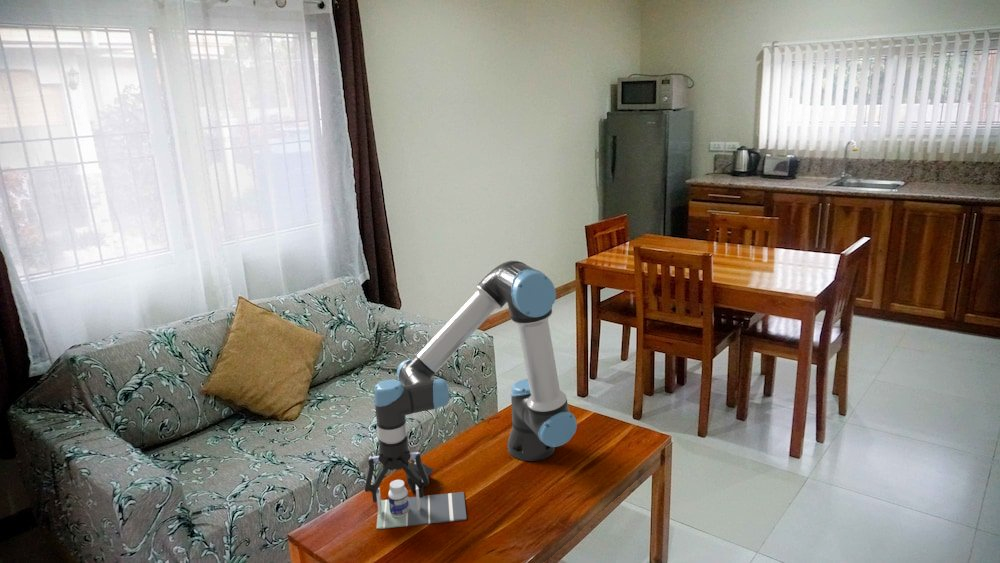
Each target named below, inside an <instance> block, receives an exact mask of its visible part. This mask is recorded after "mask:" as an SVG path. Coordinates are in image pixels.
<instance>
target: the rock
mask: <svg viewBox="0 0 1000 563" xmlns="http://www.w3.org/2000/svg"><path fill="white" fill-rule="evenodd" d="M409 464H410V466H411V467H412V468H413V469H414V471H415V472H416V473H417V474H418V476H419V477H420V478H421V479H422V477H421V474H420V472H419V470H418V467H417V465H416V461H414V460H412V461H411V463H410V462H409ZM423 465H424V468H425V470H426V472H427V475H428V477H429V478H430V476H431V475H432V473H433V471H434V468H433V467H429V466H428V465H426V464H424V463H423ZM405 476H406V482H407V485H408V487H409V488H410V491H412V492H413V493H415V494H416V484H415V483H414V481H413V480H412V479H411V478H410V476H409V475H408V474H407V473H406V472H405ZM422 480H423V479H422Z"/></svg>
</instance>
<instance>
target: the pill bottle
mask: <svg viewBox="0 0 1000 563" xmlns="http://www.w3.org/2000/svg"><path fill="white" fill-rule="evenodd" d="M405 485H406V484H405V481H404V480H402V479H395V480H391V481H390V483H389V490H388V499H389V507H390V513H391V515H392V516H394V517H402V516H404V515H406V514H407V513H408V512H409V503H408V497H409V495H408V489H407V488H406V486H405Z"/></svg>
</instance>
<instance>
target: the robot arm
mask: <svg viewBox="0 0 1000 563" xmlns="http://www.w3.org/2000/svg"><path fill="white" fill-rule="evenodd" d="M556 293H557V292H556V288H555V285H554V283H553V281H552V280H551V279H550V278H549V277H548V276H547V275H546V274H545V273H544V272H542V271H540V270H538V269H535V268H533V267H531V266H530V265H528V264H526V263H524V262H523V261H522V262H521V261H519V260H509V261H505V262H503V263H500V264H499V265H497V266H496V267H495V268H493V269H492V270H491V271H490V272H489V273H487V274H486V275H485V276H484V277H483V278H482V279H481V280H480V282H478V284H477V285H476V290H475V292H474V293H473V294H472V295H471V296H470V298H469V299H468V300H467V301H465V303H464V304H463V305H462V306H461V307H460V308H459V309H458V310H457V311H456V313H454V315H453V316H451V317H450V318H449V320H448V321H447V322H446V323H445V324H444V325H443V327H441V328H440V329H439V330H438V331H437V333H436V334H435V335H434V336H433V337H432V338H431V339H430V340H429V341H428V342H427V343H426V344H425V346H424V347H423V348H422V349H421V350H420V351H419V352H418V353H417V354H416V355H415V356H414V357H413V358H409V359H408V358H407V359H406V360H403V361H401V363H399V365H398V367H397V370H396V376H397V378H398V380H397V379H395V378H393V379H384V380H381V381H379V382H377V384H375V386H374V388H373V389H374V390H373V391H374V392H373V395H374V396H373V397H374V401H373V403H374V408H375V416H376V428H377V437H378V446H379V447H378V448H379V453H378V455H374V454H370V455H369V456H368V461H367V462H368V466H369V467H368V472H367V475H366V476H367V477H366V480H365V487H364V492H366V493H368V492H370V493H371V496H372V502H373V503H377V504H376V506H377V515H378V514H381V511H382V505H381V500H382V497H381V496H382V495H381V488H380V485H381V483H382V482H383V481H384V478H385V476H386V474H387V473H388V471H394V470H402V471H404V472H405V474H406V473H407V474H408V475H409V476H410V478H411V479H412V480H413V481H414V483H415V484H416V493H415V497H416V499H417V510H420V498H422V497H423V496H424V487H427V486H429V485H430V476H429V477H428V475H427V472H426V470H425V468H424V465H425V464H424V463H423V461H422V458H421V450H419V449H418V450H416V451H415V452H411V451H410V450H409V443H408V436H407V435H408V431H407V420H406V416H408V415H413V414H418V413H421V412H426V411H431V410H437V409H440V408H443V407H446V406H448V405H449V402H450V390H449V387H448V384H447V382H446V380H445V379H443V378H434V379H432V378H433V377H434V376H435V374H436V373H437V372H438V371H439V370H440V369H441V368H442V367H443V366H444V365H445V364H446V363H447V361H449V360H450V359H451V357H452V356H453V355H455V353H456V352H457V351H458V350H459V349H460V347H461V346H462V345H464V343H465V342H466V341H468V339H469V338H470V337H471V336H472V334H474V332H476V330H478V328H479V327H480V326H482V324H483V323H484V322H485V321H486V320H487V319H488V318H489V317H490V315H491V314H492V313H493V312H494V311H495V310H498V309H500V310H501V309H502V308H503V306H504V305H506V304H507V306H508V310H509V318H510V320H511V321H512V322H513V323H515V324H516V325H517V329H518V335H519V339H520V344H521V349H522V350H521V351H522V355H523V362H524V365H525V372H526V376H527V378H526V379H521V380H518V381H516V382H515V383H513V385H512V386H511V392H510V398H511V400H510V401H511V402H510V403H511V421H512V422H511V423H512V424H511V425H512V426H511V431H510V433H509V436H508V440H507V452H508V453H509V455H511V456H512V457H514V458H515V459H517V460H521V461H525V462H532V461H533V462H534V461H537V462H538V461H542V460H545V459H547V458H549V457H550V456H552V455H553V454H554V453H555V450H556V449H555V448H557V447H558V448H559V447H561V446H563V445H565V444H566V443H568V442H569V441H570V440H571V439H572V437H573V436H574V435H575V434H576V431H577V427H578V423H577V422H578V421H577V419H576V417H575V415H574V414H573V413H572V412H571V411H570V410H569V409H570V408H569V404H568V398H567V395H566V393H565V392H564V391H563V390H560V383H559V377H558V371H557V370H558V369H557V365H556V360H555V359H556V358H555V354H554V348H553V342H552V335H551V331H550V323H549V318H550V317H551V316H552V315H553V309H552V308H553V305H554V304H555V302H556V297H557V294H556ZM410 459H412V461H416V465H417V467H418V470H419V472H420V474H421V477H422V479H423V480H422V479H421V478H420V477H419V476H418V474H417V473H416V472H415V471H414V469H413V468H412V467H411V466H410V462H409V461H410ZM378 462H379V463H381V464H382V466H381V468H380V471H379V472H378V473H377V474H378V475H377V476H376V477H375V480H374V482H373V483H372V479H373V475H374V471H375V470H374V468H375V466H376V465H377V464H378ZM423 464H424V465H423ZM371 483H372V484H371Z"/></svg>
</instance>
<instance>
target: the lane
mask: <svg viewBox="0 0 1000 563" xmlns="http://www.w3.org/2000/svg"><path fill="white" fill-rule="evenodd" d="M408 503H409V512H408V513H407V514H406V515H404V516H402V517H394V516H392V515H391V513H390V507H389V498H388V499H381V505H382V511H381V514H378V513H377V518H376V527H375V529H376V530H382V529H391V528H401V527H411V526H418V525H419V526H420V525H428V524H429V525H430V524H438V523H439V524H440V523H447V522H457V521H465V520H467V510H466V501H465V491H457V492H450V493H440V494H438V493H437V494H430V495H429V494H428V495H423V497H422V498H420V510H417V499H416V496H410V497H409V496H408Z"/></svg>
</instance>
